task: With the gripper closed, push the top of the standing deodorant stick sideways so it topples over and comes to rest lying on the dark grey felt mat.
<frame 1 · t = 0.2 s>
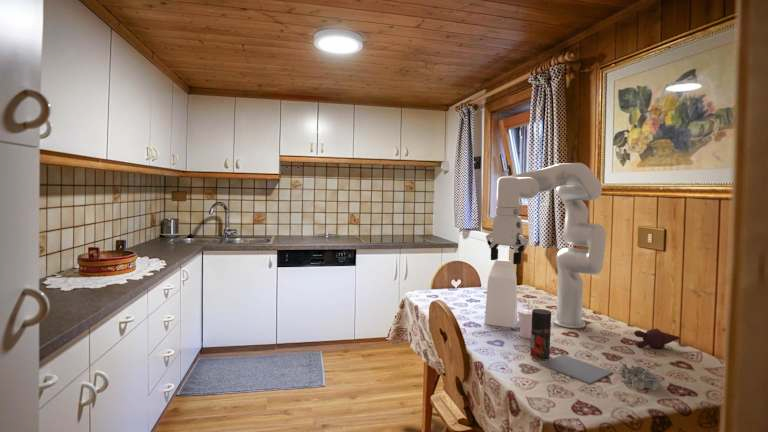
hand: (505, 261, 143), 30 cm above the table, tool pointing down, fingers open, 9 cm apart
felt mat: (575, 368, 126), on the table
egg carton: (639, 383, 119), on the table
deodorant: (539, 356, 136), on the table
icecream: (656, 348, 146), on the table
smoothie: (525, 337, 154), on the table
milk: (501, 322, 172), on the table
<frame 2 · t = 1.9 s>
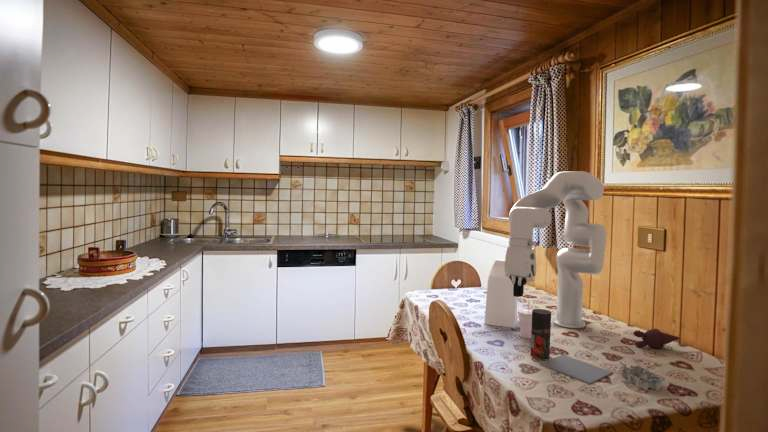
hand: (518, 296, 142), 18 cm above the table, tool pointing down, fingers closed
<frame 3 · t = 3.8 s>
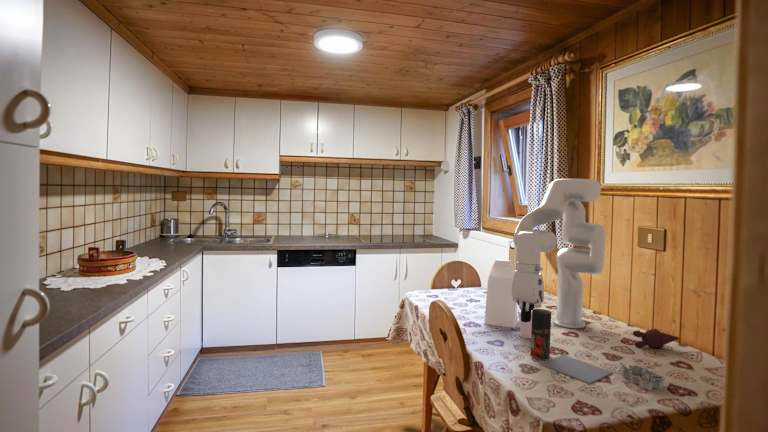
hand: (525, 321, 140), 10 cm above the table, tool pointing down, fingers closed
deodorant: (539, 356, 136), on the table, touching gripper
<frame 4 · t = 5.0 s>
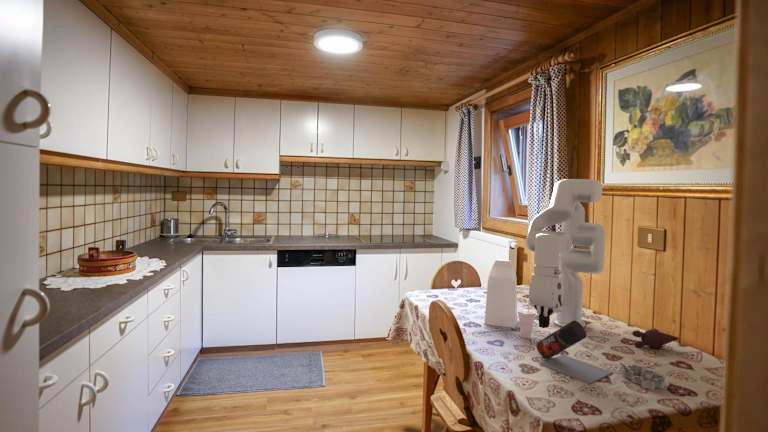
hand: (543, 326, 134), 10 cm above the table, tool pointing down, fingers closed
deodorant: (542, 350, 135), point 2 cm above the table
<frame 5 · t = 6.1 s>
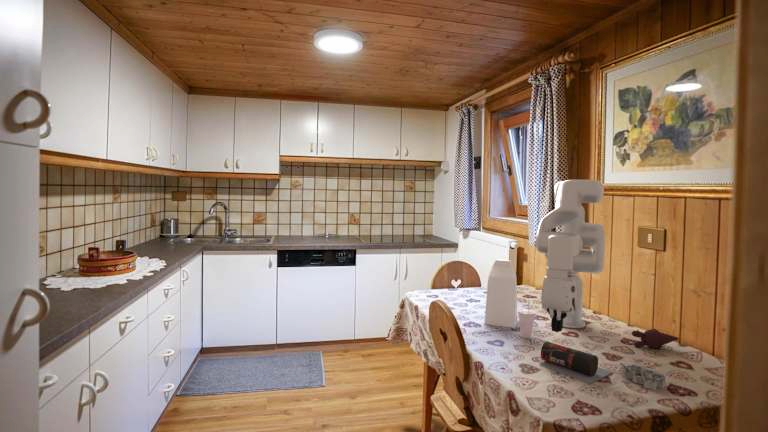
hand: (556, 330, 131), 10 cm above the table, tool pointing down, fingers closed
deodorant: (544, 350, 132), point 3 cm above the table, touching felt mat
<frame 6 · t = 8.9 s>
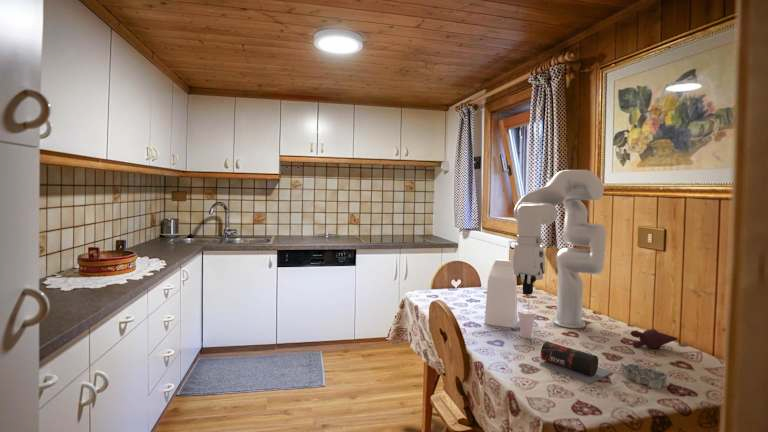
hand: (527, 293, 140), 19 cm above the table, tool pointing down, fingers closed
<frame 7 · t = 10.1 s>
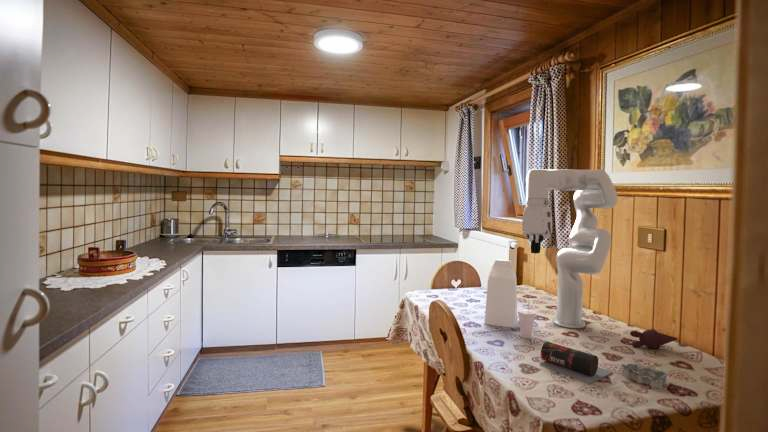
hand: (535, 252, 151), 32 cm above the table, tool pointing down, fingers closed
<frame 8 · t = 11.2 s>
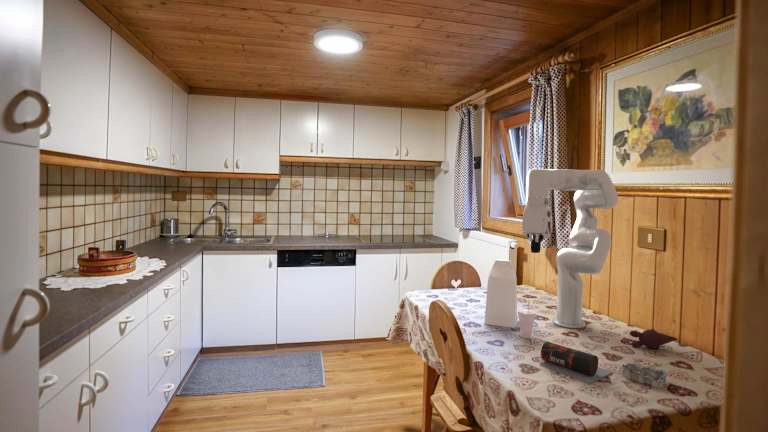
hand: (535, 252, 151), 32 cm above the table, tool pointing down, fingers closed
at the end: deodorant tilted 90°; deodorant inside the target area on the felt mat (7.9 cm from its centre), point 3.3 cm above the felt mat's base; the gripper is holding nothing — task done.
